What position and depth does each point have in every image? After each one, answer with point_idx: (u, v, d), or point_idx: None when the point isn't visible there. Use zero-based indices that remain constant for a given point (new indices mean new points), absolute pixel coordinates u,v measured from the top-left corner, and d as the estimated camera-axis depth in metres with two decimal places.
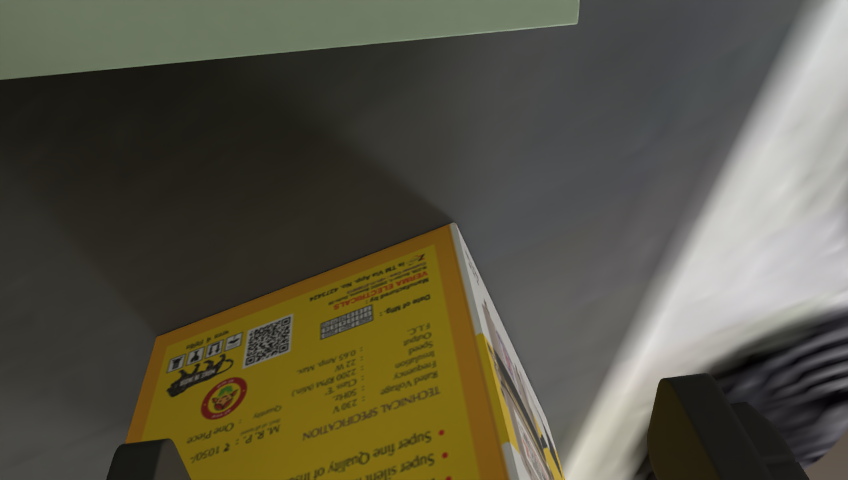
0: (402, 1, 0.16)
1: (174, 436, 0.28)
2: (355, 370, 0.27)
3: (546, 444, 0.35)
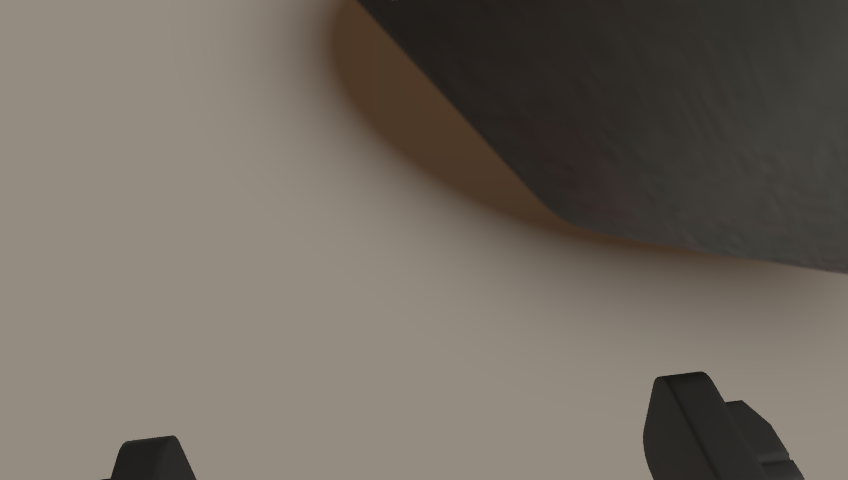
0: None
1: None
2: None
3: None
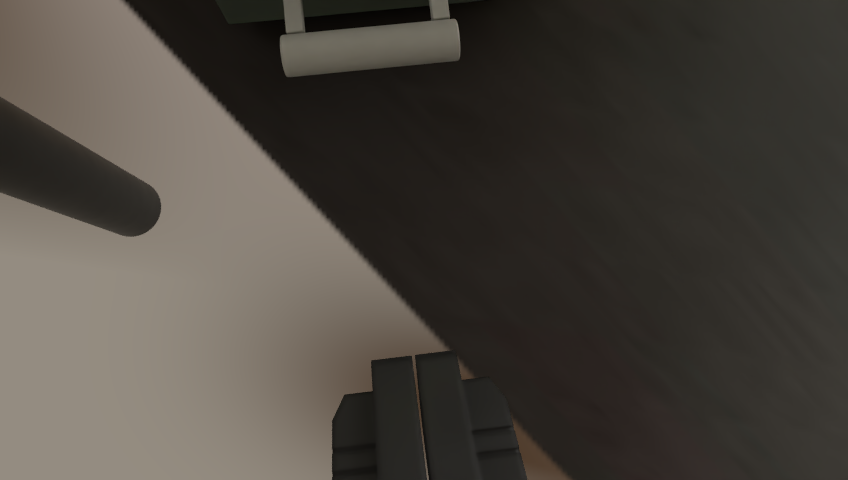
0: None
1: None
2: None
3: None
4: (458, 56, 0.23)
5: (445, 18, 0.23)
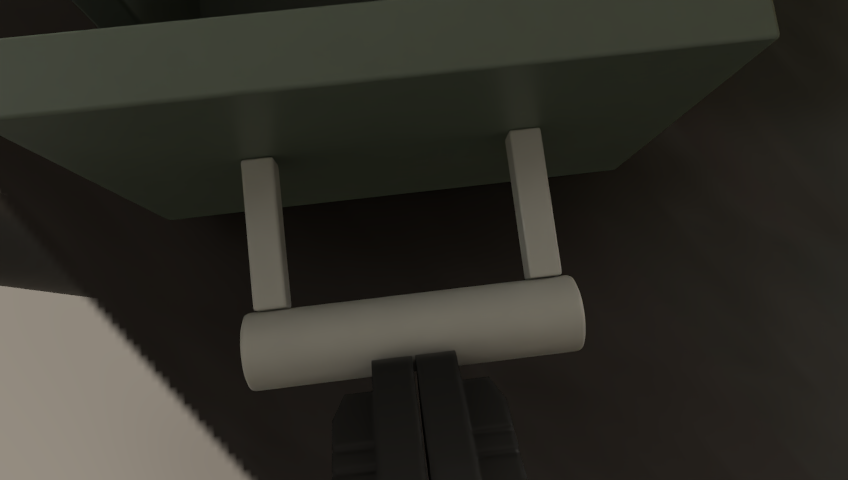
0: None
1: None
2: None
3: None
4: (579, 349, 0.12)
5: (553, 275, 0.12)
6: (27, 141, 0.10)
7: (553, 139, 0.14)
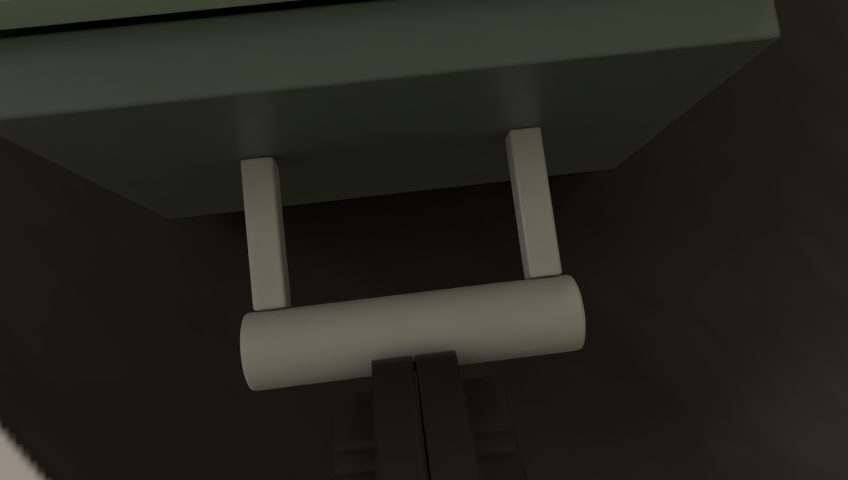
0: None
1: None
2: None
3: None
4: None
5: (553, 275, 0.12)
6: (26, 141, 0.10)
7: (553, 138, 0.14)
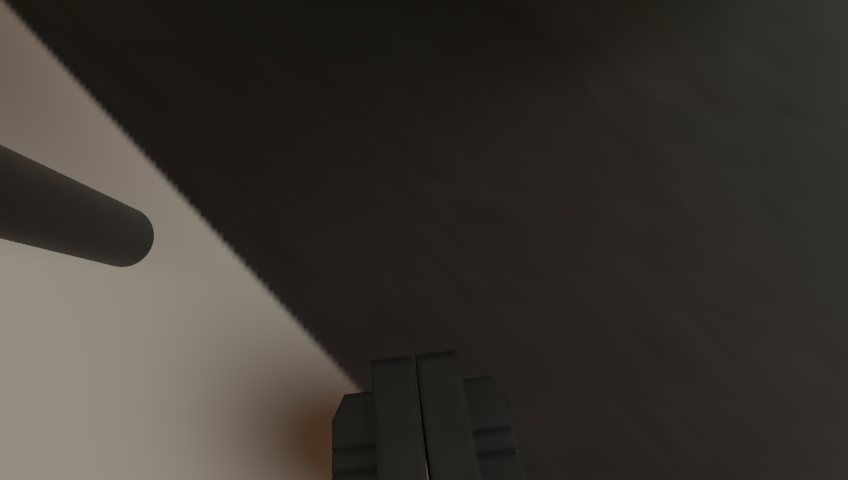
0: None
1: None
2: None
3: None
4: None
5: None
6: None
7: None
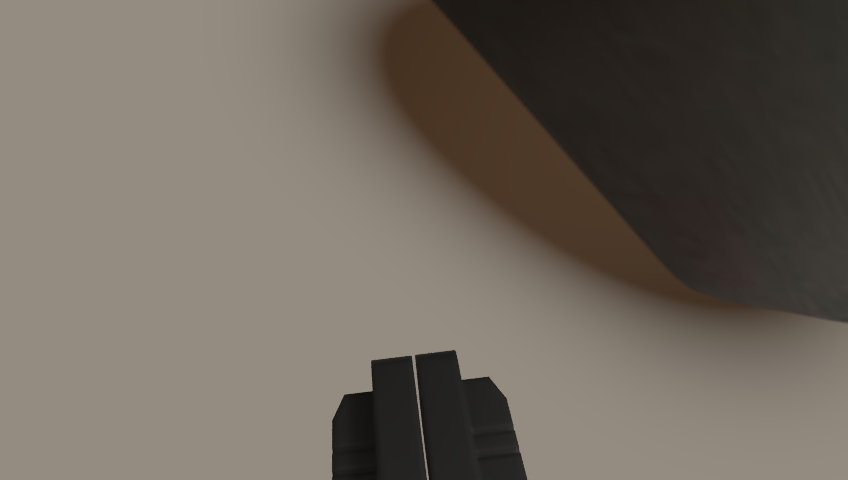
0: None
1: None
2: None
3: None
4: None
5: None
6: None
7: None
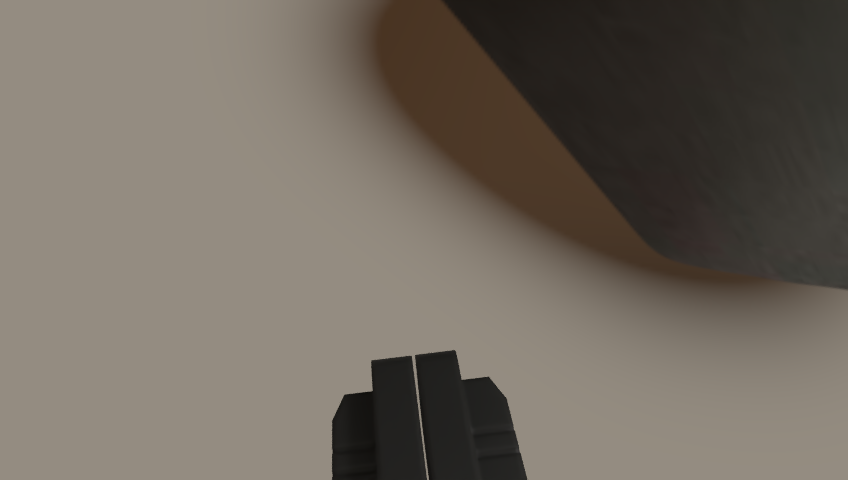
0: None
1: None
2: None
3: None
4: None
5: None
6: None
7: None
